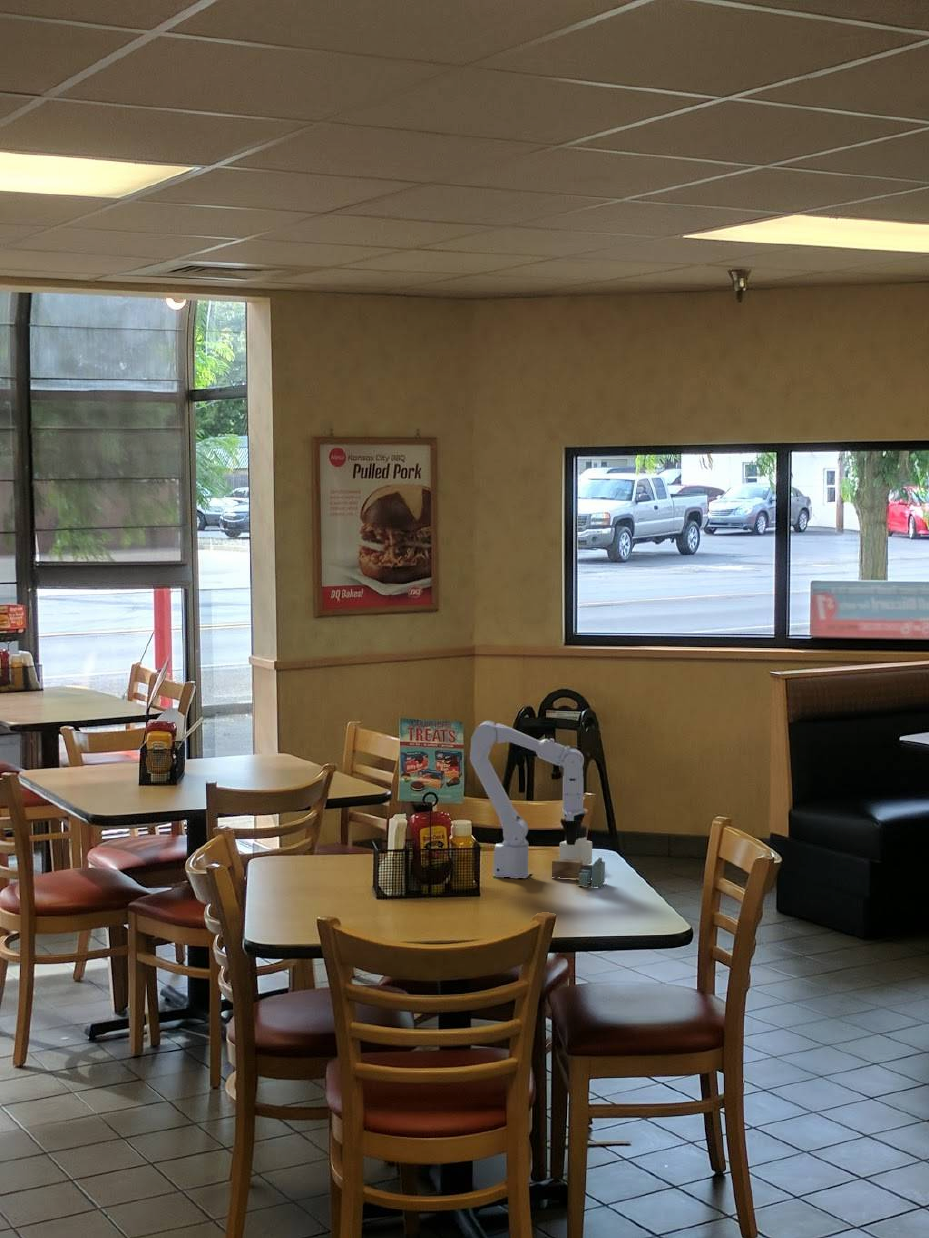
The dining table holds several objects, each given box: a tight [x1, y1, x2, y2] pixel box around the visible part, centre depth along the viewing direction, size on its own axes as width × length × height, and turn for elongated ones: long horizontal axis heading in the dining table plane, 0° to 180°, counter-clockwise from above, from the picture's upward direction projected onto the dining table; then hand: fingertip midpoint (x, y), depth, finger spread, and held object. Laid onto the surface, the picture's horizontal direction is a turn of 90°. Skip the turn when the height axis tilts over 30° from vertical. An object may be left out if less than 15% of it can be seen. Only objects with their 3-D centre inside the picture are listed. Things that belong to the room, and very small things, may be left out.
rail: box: [551, 858, 593, 878], centre depth 404 cm, size 12×3×5 cm, turn 75°
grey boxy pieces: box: [578, 857, 606, 889], centre depth 396 cm, size 6×7×7 cm
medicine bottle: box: [558, 824, 593, 865], centre depth 420 cm, size 7×7×12 cm
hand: (572, 841), depth 404 cm, fingers open, 7 cm apart
